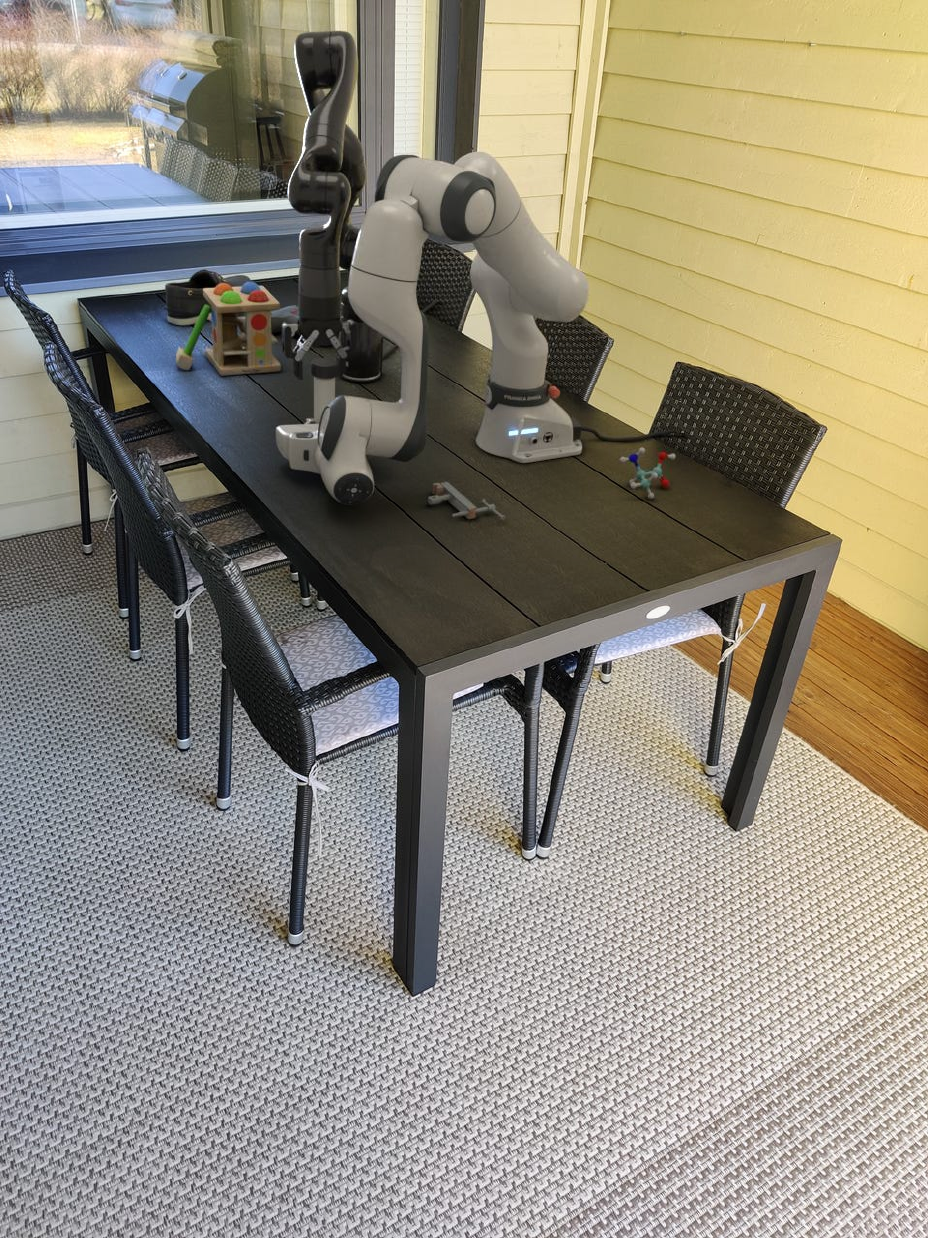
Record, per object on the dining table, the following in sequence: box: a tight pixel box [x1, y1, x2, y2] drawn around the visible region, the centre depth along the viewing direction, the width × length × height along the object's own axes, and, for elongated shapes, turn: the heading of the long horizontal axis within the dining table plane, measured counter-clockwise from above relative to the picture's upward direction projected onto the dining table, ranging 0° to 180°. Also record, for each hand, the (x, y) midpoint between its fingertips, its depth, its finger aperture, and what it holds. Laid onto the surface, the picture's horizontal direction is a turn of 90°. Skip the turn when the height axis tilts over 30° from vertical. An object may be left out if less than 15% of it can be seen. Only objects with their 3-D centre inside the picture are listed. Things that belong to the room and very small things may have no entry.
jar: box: [313, 376, 336, 424], centre depth 190 cm, size 4×4×18 cm
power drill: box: [271, 304, 340, 346], centre depth 252 cm, size 5×19×20 cm
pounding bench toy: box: [174, 281, 282, 377], centre depth 225 cm, size 23×14×18 cm, turn 116°
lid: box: [310, 357, 338, 379], centre depth 185 cm, size 5×5×2 cm
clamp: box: [427, 481, 506, 521], centre depth 180 cm, size 15×2×10 cm
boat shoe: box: [164, 269, 253, 326], centre depth 260 cm, size 13×33×10 cm, turn 147°
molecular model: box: [619, 447, 676, 500], centre depth 192 cm, size 12×10×10 cm
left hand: (319, 376), depth 187 cm, fingers open, 7 cm apart
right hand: (323, 421), depth 192 cm, fingers closed on jar, 4 cm apart
